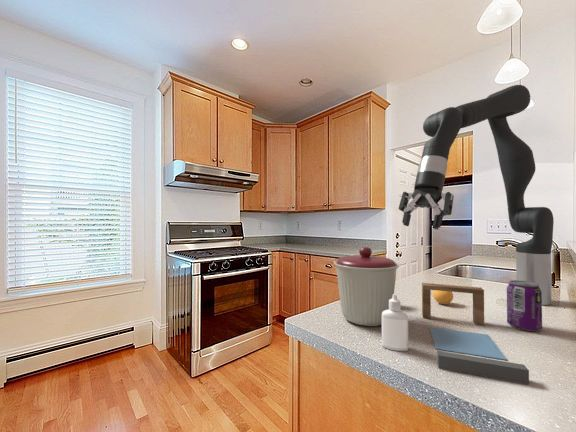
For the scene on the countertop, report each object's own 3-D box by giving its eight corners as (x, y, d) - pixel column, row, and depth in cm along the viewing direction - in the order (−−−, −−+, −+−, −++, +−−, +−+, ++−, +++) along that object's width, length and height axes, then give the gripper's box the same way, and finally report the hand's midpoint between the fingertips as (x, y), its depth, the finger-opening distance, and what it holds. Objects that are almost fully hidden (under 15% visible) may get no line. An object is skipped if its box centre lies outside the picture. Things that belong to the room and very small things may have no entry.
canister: (367, 338, 66) (366, 252, 66) (321, 315, 81) (321, 245, 82) (413, 324, 75) (413, 248, 75) (364, 306, 91) (364, 243, 91)
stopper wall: (437, 363, 55) (437, 350, 55) (524, 378, 49) (524, 364, 49) (438, 368, 53) (438, 355, 53) (529, 384, 47) (528, 370, 47)
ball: (432, 300, 97) (432, 283, 97) (451, 302, 94) (451, 285, 94) (434, 305, 91) (434, 287, 91) (454, 307, 89) (454, 289, 89)
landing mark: (429, 327, 72) (429, 326, 72) (487, 335, 68) (487, 334, 68) (435, 349, 60) (435, 348, 60) (507, 360, 55) (507, 359, 55)
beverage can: (549, 334, 68) (548, 286, 68) (517, 332, 70) (516, 285, 70) (530, 323, 75) (529, 280, 75) (501, 321, 77) (501, 279, 77)
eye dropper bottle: (401, 355, 58) (401, 299, 58) (378, 345, 62) (378, 293, 62) (411, 349, 60) (411, 295, 61) (388, 340, 65) (388, 290, 65)
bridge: (422, 314, 82) (422, 282, 82) (481, 321, 76) (480, 287, 77) (423, 318, 79) (422, 285, 79) (484, 325, 74) (484, 290, 74)
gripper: (462, 178, 77) (451, 233, 75) (413, 179, 88) (402, 227, 86) (452, 168, 72) (440, 226, 71) (402, 170, 83) (390, 221, 82)
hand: (419, 227), depth 78 cm, fingers open, 8 cm apart
